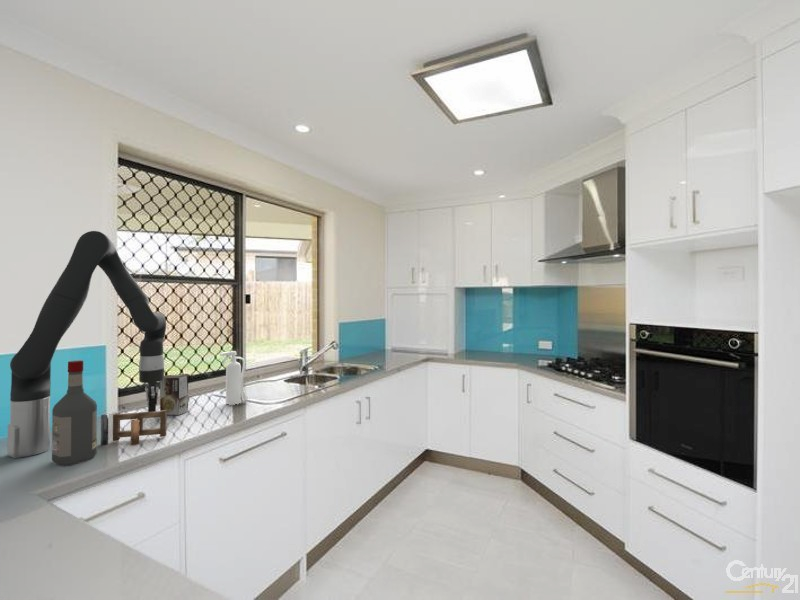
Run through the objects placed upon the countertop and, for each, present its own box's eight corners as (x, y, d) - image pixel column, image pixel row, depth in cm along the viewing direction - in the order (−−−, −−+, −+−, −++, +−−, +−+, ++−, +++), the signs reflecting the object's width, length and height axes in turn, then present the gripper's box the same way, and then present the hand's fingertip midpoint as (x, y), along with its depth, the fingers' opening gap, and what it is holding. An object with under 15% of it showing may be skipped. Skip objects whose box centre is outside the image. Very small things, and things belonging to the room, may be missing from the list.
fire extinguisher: (248, 403, 182) (247, 350, 182) (220, 406, 178) (219, 352, 178) (249, 400, 188) (248, 349, 189) (222, 403, 184) (221, 351, 185)
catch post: (132, 445, 129) (133, 421, 129) (129, 444, 130) (129, 420, 130) (140, 443, 131) (140, 420, 131) (137, 442, 132) (137, 418, 132)
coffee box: (188, 411, 169) (189, 374, 169) (179, 415, 163) (179, 377, 163) (169, 410, 170) (169, 374, 170) (159, 414, 164) (159, 377, 164)
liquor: (62, 468, 111) (63, 364, 111) (49, 461, 116) (50, 362, 116) (99, 457, 119) (100, 360, 119) (85, 451, 124) (86, 358, 124)
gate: (112, 441, 131) (112, 414, 131) (114, 439, 133) (114, 413, 133) (165, 436, 136) (165, 411, 136) (166, 435, 138) (166, 409, 138)
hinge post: (102, 445, 129) (102, 415, 129) (99, 444, 130) (99, 414, 130) (109, 443, 130) (109, 414, 130) (106, 442, 131) (106, 413, 131)
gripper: (165, 369, 135) (166, 418, 135) (162, 364, 145) (162, 409, 146) (140, 371, 130) (140, 422, 131) (138, 366, 141) (138, 413, 141)
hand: (152, 415), depth 138 cm, fingers closed
